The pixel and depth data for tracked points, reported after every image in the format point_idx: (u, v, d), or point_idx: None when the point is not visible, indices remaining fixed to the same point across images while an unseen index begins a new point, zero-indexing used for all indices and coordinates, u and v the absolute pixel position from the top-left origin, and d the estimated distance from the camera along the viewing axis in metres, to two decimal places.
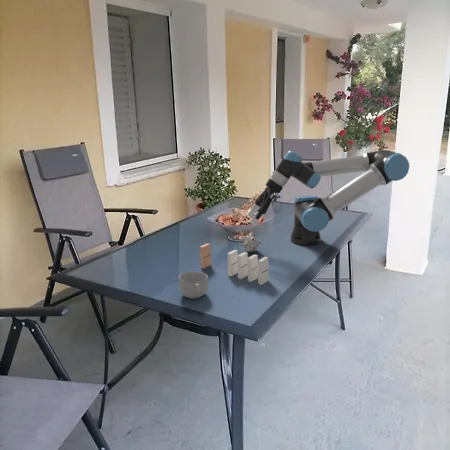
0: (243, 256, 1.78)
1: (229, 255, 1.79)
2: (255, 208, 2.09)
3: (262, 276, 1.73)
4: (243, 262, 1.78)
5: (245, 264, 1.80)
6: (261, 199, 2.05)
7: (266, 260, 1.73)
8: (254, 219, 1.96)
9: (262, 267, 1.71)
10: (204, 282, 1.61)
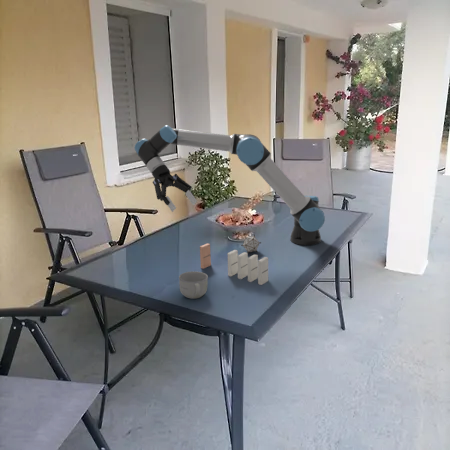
0: (243, 256, 1.78)
1: (229, 255, 1.80)
2: (188, 194, 1.97)
3: (262, 276, 1.73)
4: (243, 262, 1.78)
5: (245, 264, 1.80)
6: (178, 187, 1.97)
7: (266, 260, 1.73)
8: (169, 206, 1.87)
9: (262, 267, 1.71)
10: (204, 282, 1.61)
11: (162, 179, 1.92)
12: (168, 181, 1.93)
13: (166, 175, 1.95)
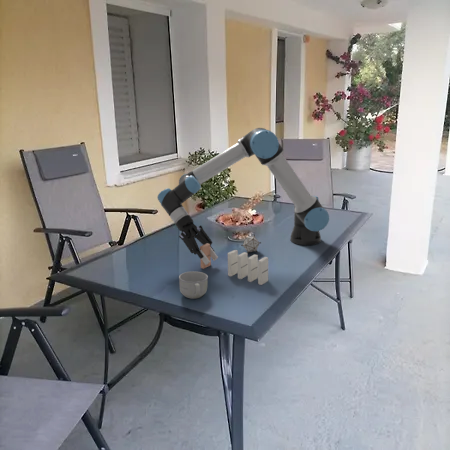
0: (243, 256, 1.78)
1: (229, 255, 1.80)
2: None
3: (262, 276, 1.73)
4: (243, 262, 1.78)
5: (245, 264, 1.80)
6: (199, 239, 1.94)
7: (266, 260, 1.73)
8: (203, 259, 1.88)
9: (262, 267, 1.71)
10: (204, 282, 1.61)
11: (186, 230, 1.91)
12: (192, 232, 1.92)
13: (190, 225, 1.94)
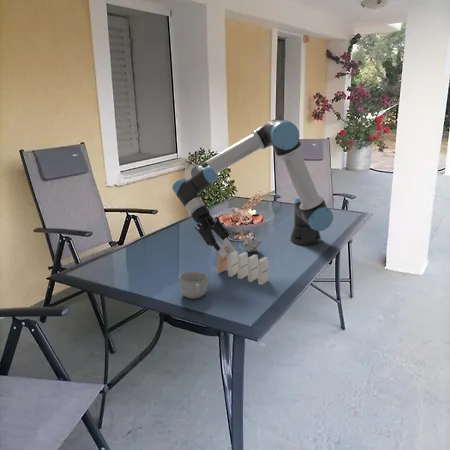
0: (243, 256, 1.78)
1: (230, 256, 1.79)
2: (226, 242, 1.85)
3: (262, 276, 1.73)
4: (243, 262, 1.78)
5: (245, 264, 1.80)
6: (216, 231, 1.86)
7: (266, 260, 1.73)
8: (220, 252, 1.80)
9: (262, 267, 1.71)
10: (204, 282, 1.61)
11: (202, 221, 1.83)
12: (208, 223, 1.84)
13: (206, 216, 1.86)
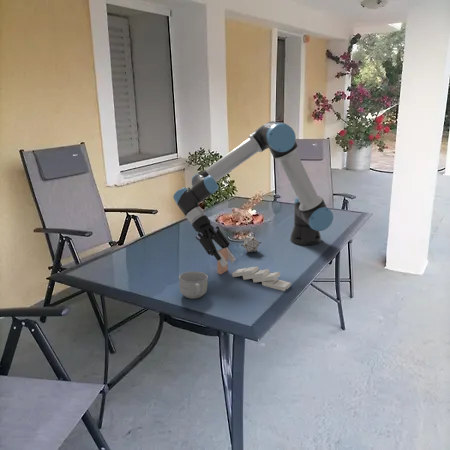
0: None
1: (251, 273, 1.76)
2: None
3: None
4: None
5: None
6: (216, 240, 1.88)
7: None
8: (220, 261, 1.82)
9: None
10: (204, 282, 1.61)
11: (203, 231, 1.84)
12: (209, 233, 1.86)
13: (207, 226, 1.87)
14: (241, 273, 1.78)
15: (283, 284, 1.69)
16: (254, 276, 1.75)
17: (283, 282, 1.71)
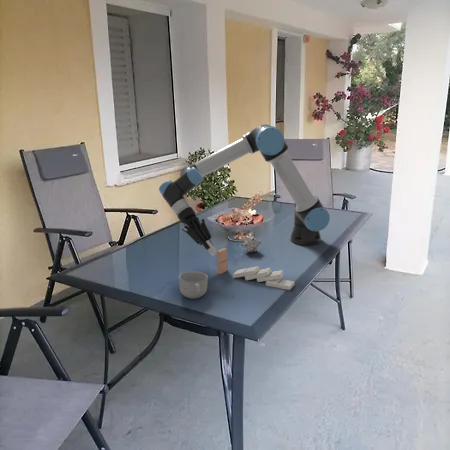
0: None
1: (253, 273, 1.76)
2: None
3: None
4: None
5: None
6: (199, 232, 1.91)
7: None
8: (209, 250, 1.88)
9: None
10: (204, 282, 1.61)
11: (188, 222, 1.89)
12: None
13: (192, 217, 1.92)
14: (242, 274, 1.78)
15: (287, 283, 1.70)
16: (258, 276, 1.75)
17: (287, 281, 1.72)
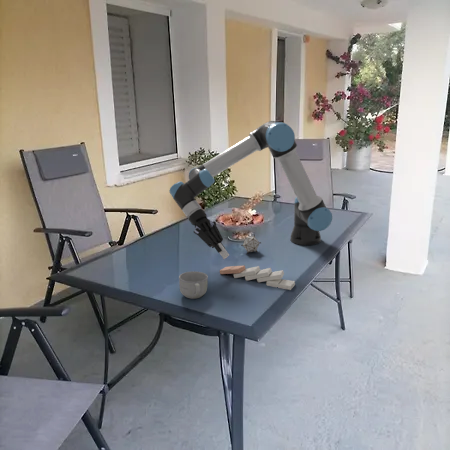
0: None
1: (253, 273, 1.75)
2: None
3: None
4: None
5: None
6: (211, 235, 1.87)
7: None
8: (221, 253, 1.84)
9: None
10: (204, 282, 1.61)
11: (199, 224, 1.85)
12: None
13: (203, 219, 1.88)
14: (243, 274, 1.78)
15: (288, 283, 1.70)
16: (258, 276, 1.75)
17: (287, 281, 1.72)
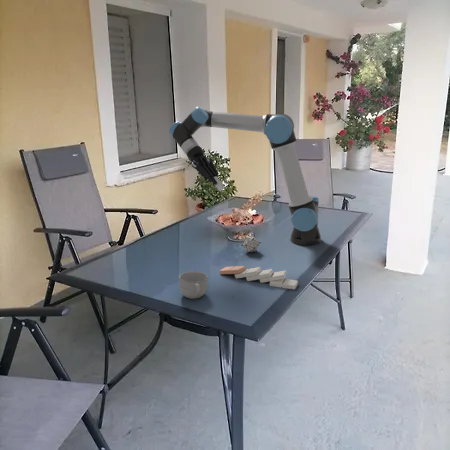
0: None
1: (255, 273, 1.75)
2: None
3: None
4: None
5: None
6: None
7: None
8: (217, 186, 2.00)
9: None
10: (204, 282, 1.61)
11: (197, 159, 2.00)
12: None
13: (200, 156, 2.03)
14: (244, 274, 1.77)
15: (291, 282, 1.71)
16: (259, 277, 1.74)
17: (290, 280, 1.72)
